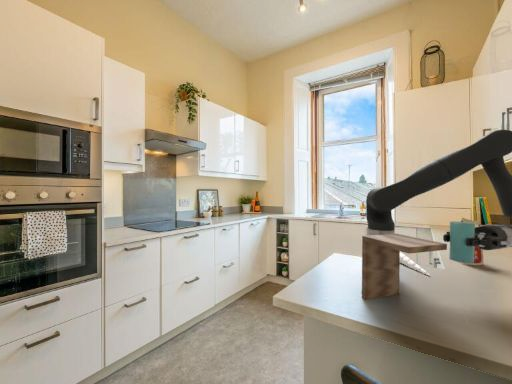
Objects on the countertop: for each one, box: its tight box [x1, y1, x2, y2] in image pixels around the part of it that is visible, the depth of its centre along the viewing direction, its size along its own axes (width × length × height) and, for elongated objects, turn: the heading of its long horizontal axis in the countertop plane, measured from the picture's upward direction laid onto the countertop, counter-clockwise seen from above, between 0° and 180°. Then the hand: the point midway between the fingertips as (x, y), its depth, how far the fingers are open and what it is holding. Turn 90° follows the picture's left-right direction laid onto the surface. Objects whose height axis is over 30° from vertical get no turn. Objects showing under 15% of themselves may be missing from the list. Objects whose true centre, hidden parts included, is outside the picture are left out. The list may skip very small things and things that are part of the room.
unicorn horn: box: [400, 251, 431, 277], centre depth 105 cm, size 5×24×5 cm, turn 177°
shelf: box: [361, 233, 448, 300], centre depth 70 cm, size 13×16×18 cm
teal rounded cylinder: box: [449, 221, 475, 263], centre depth 74 cm, size 6×6×11 cm
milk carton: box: [458, 217, 484, 266], centre depth 113 cm, size 9×9×20 cm
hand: (456, 240), depth 73 cm, fingers closed on teal rounded cylinder, 5 cm apart
